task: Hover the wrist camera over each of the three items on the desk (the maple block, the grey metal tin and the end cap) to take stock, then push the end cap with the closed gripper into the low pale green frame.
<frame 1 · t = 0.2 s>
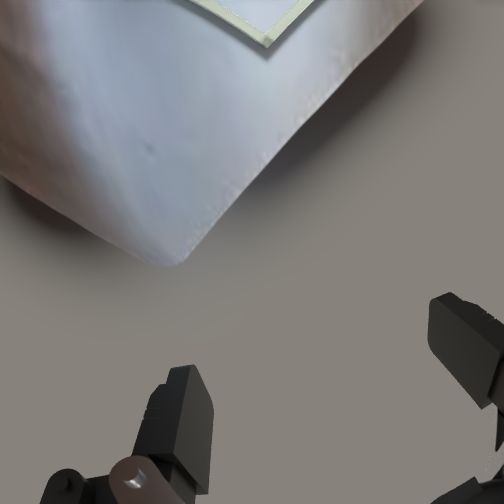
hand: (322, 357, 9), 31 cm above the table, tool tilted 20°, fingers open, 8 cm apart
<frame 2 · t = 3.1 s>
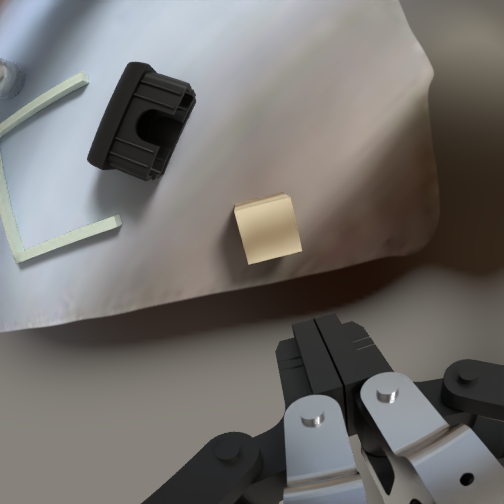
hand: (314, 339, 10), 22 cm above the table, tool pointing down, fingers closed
maple block: (264, 221, 31), on the table
end cap: (150, 126, 28), on the table
pale green frame: (48, 170, 28), on the table
grey metal tin: (13, 81, 24), on the table
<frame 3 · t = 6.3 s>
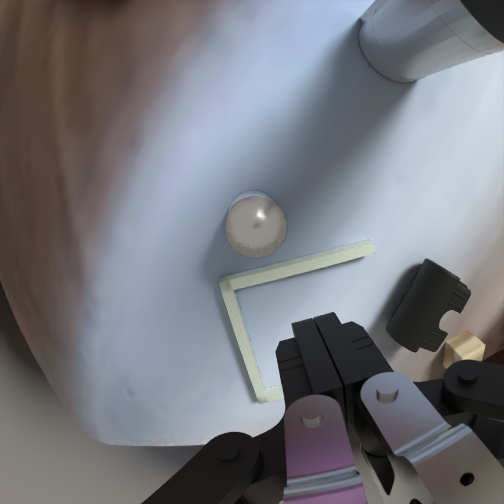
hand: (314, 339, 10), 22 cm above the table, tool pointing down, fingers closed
maple block: (455, 347, 38), on the table
end cap: (413, 294, 35), on the table
pale green frame: (314, 327, 35), on the table
grey metal tin: (252, 214, 31), on the table
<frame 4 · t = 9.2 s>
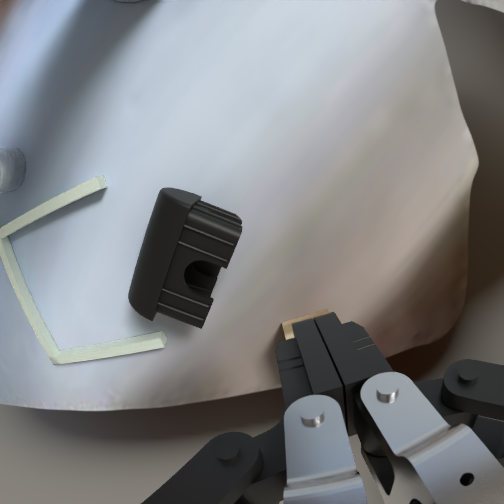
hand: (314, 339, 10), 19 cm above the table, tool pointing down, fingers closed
maple block: (308, 334, 31), on the table
end cap: (189, 245, 28), on the table
pale green frame: (74, 281, 28), on the table
grey metal tin: (11, 169, 24), on the table
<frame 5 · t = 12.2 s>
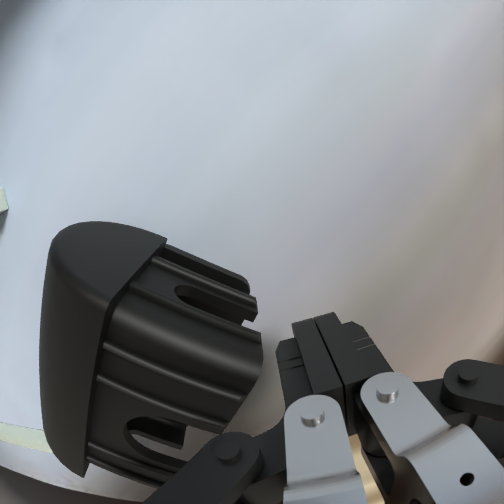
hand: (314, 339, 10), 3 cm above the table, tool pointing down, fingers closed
maple block: (347, 445, 17), on the table
end cap: (149, 327, 14), on the table, touching gripper
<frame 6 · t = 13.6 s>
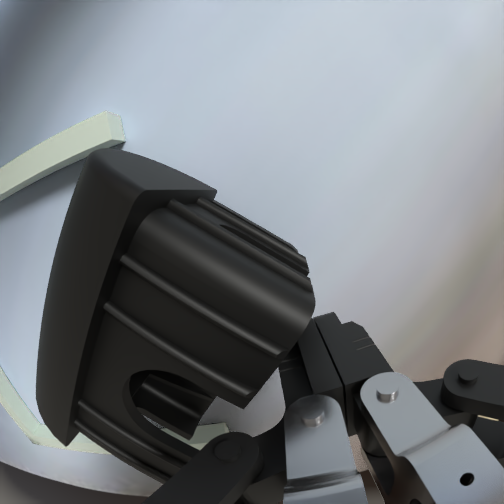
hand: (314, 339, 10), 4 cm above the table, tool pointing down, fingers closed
end cap: (180, 296, 13), on the table, touching gripper
pale green frame: (53, 334, 14), on the table
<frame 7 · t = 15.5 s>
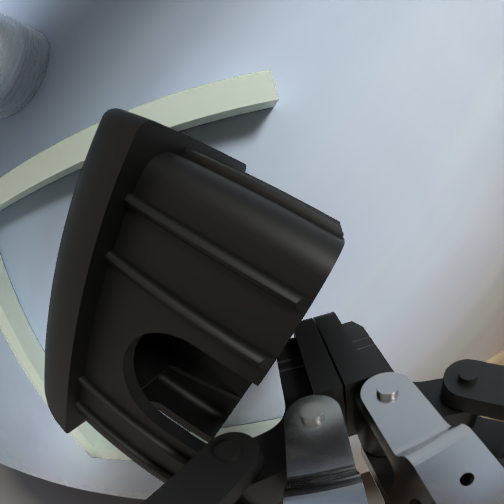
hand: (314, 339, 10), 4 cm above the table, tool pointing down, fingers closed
maple block: (496, 371, 17), on the table
end cap: (211, 284, 12), point 1 cm above the table, touching gripper
pale green frame: (148, 326, 13), on the table
grey metal tin: (15, 73, 9), on the table
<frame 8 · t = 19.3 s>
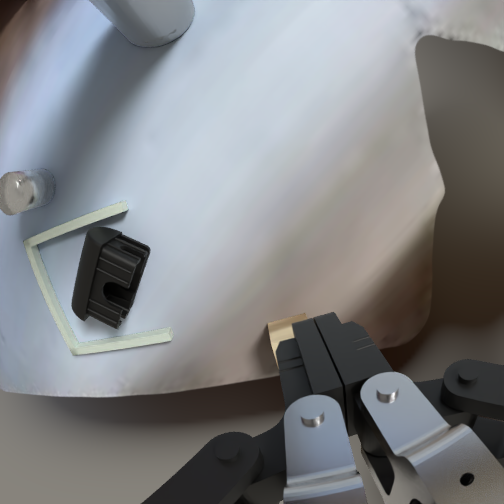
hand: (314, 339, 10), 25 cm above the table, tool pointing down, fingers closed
maple block: (290, 333, 38), on the table
end cap: (117, 267, 35), on the table
pale green frame: (97, 285, 35), on the table
grey metal tin: (41, 187, 31), on the table
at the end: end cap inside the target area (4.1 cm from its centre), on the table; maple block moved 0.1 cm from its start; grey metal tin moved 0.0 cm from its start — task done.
